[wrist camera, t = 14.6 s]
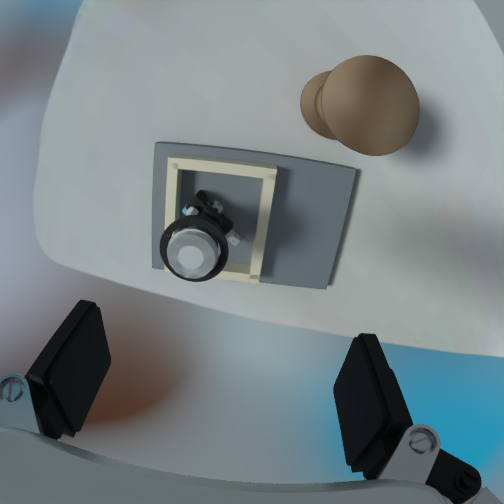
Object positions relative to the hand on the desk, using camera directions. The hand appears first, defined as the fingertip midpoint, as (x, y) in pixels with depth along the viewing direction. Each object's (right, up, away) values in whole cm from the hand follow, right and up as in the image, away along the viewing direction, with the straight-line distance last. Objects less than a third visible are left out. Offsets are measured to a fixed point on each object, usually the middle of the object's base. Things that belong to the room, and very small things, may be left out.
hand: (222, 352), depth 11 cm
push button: (-3, +7, +21) cm, 23 cm away
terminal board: (+1, +7, +22) cm, 23 cm away
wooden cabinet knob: (+9, +18, +17) cm, 26 cm away
